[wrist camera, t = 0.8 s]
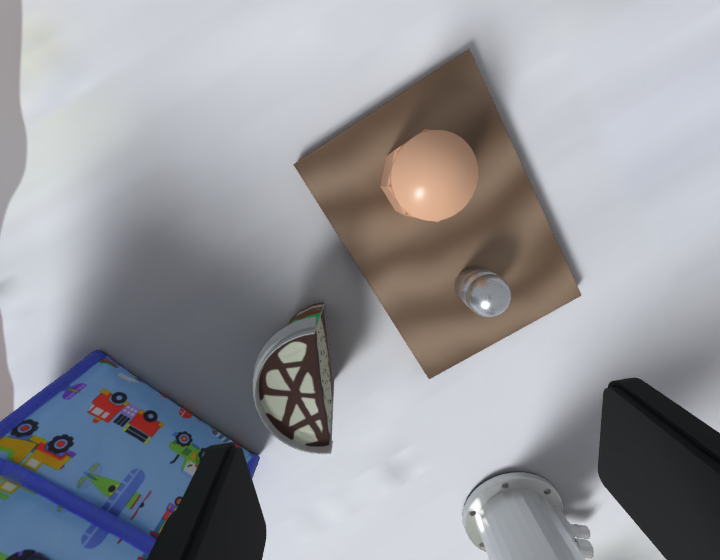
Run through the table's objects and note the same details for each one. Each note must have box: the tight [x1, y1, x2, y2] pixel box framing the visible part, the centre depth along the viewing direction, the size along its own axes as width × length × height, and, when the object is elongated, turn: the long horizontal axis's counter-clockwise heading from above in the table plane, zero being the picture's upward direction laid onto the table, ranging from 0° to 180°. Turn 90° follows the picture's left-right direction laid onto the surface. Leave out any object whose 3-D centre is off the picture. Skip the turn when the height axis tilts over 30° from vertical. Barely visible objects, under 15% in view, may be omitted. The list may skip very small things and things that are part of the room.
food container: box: [252, 303, 334, 454], centre depth 33 cm, size 12×6×10 cm, turn 5°
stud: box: [455, 265, 511, 317], centre depth 32 cm, size 4×4×6 cm
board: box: [293, 49, 581, 379], centre depth 34 cm, size 26×18×2 cm
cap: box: [380, 129, 478, 222], centre depth 29 cm, size 6×6×7 cm
